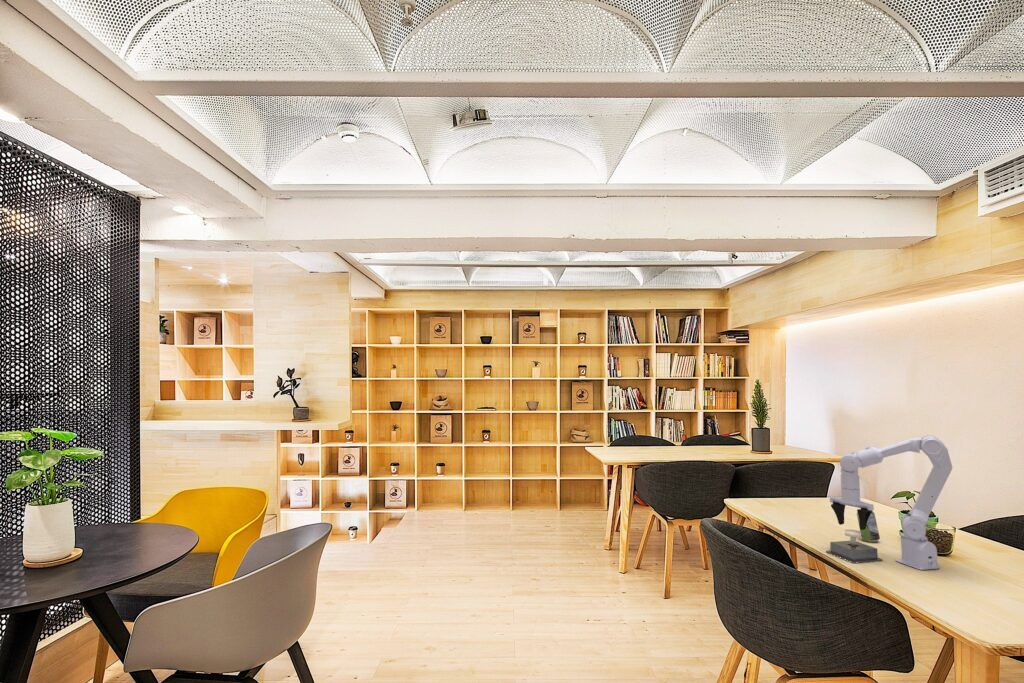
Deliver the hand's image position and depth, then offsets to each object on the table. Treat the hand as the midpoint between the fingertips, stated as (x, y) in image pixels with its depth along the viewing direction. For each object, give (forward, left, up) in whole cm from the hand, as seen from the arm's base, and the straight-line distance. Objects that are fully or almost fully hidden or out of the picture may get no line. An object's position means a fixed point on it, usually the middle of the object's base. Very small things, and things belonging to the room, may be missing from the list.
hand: (851, 526), depth 195 cm
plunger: (-2, +1, -6) cm, 7 cm away
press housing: (-2, +2, -10) cm, 10 cm away
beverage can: (+13, -20, -10) cm, 26 cm away
